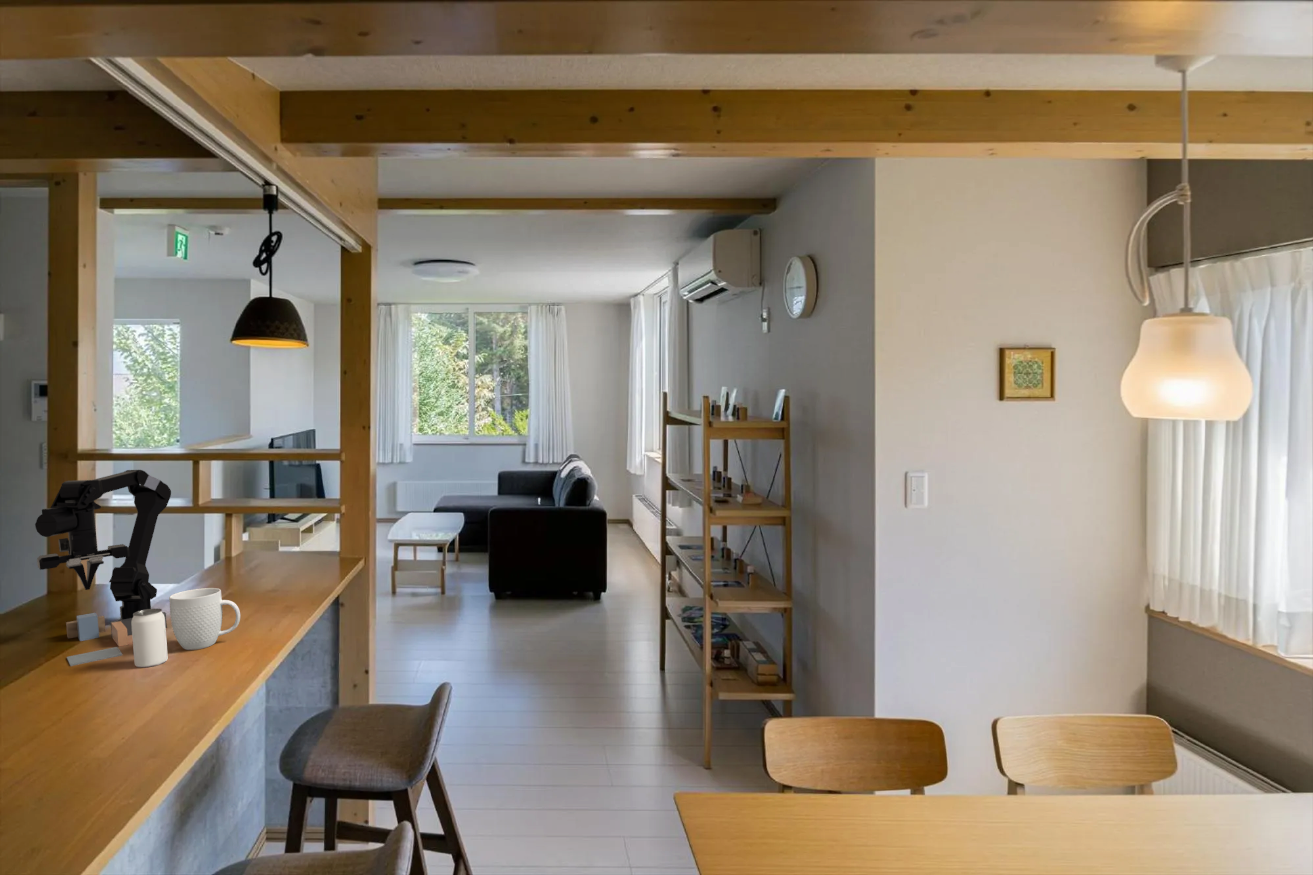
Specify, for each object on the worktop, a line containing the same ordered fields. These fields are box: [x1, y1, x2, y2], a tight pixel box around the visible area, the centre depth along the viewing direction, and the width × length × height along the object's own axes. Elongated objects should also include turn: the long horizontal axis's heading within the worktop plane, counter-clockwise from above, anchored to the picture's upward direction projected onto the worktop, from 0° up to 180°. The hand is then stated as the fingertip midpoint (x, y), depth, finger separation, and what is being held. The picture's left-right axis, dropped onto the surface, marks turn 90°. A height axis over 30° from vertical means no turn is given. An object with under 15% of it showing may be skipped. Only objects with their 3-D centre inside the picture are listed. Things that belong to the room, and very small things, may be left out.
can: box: [131, 608, 169, 669], centre depth 182 cm, size 6×6×12 cm
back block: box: [65, 615, 107, 640], centre depth 208 cm, size 8×2×4 cm, turn 131°
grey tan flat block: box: [110, 611, 168, 647], centre depth 204 cm, size 12×12×4 cm
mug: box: [168, 587, 241, 651], centre depth 194 cm, size 15×11×13 cm
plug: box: [76, 612, 100, 642], centre depth 204 cm, size 4×4×6 cm
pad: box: [66, 646, 123, 667], centre depth 188 cm, size 10×8×1 cm
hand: (87, 589), depth 203 cm, fingers closed
